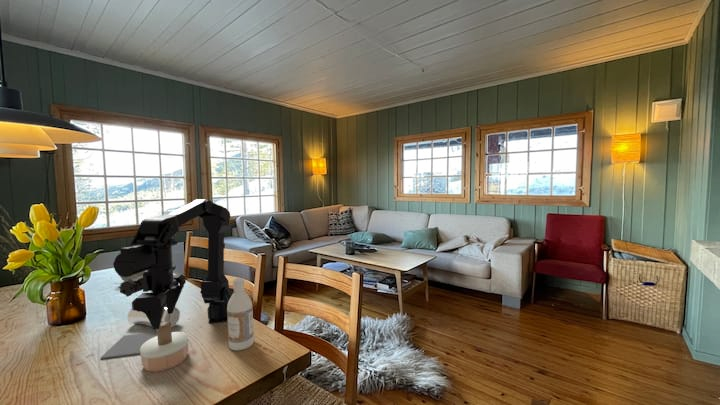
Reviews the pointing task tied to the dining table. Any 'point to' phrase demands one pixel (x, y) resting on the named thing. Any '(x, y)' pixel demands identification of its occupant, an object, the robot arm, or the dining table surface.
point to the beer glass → (141, 318)
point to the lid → (164, 342)
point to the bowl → (165, 361)
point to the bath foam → (240, 318)
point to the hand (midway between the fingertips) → (163, 320)
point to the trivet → (128, 345)
